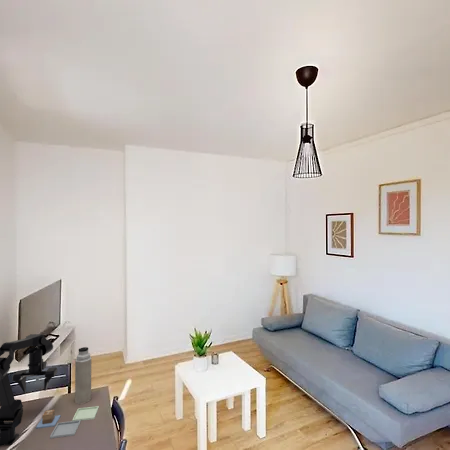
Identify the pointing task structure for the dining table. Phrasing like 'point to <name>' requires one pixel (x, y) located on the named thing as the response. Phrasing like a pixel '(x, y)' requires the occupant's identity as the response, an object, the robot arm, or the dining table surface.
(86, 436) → the dining table surface
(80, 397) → the thermos bottle
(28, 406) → the dining table surface
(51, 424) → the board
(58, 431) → the grey tray
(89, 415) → the green tray
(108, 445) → the dining table surface
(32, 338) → the robot arm
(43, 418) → the letter cube
